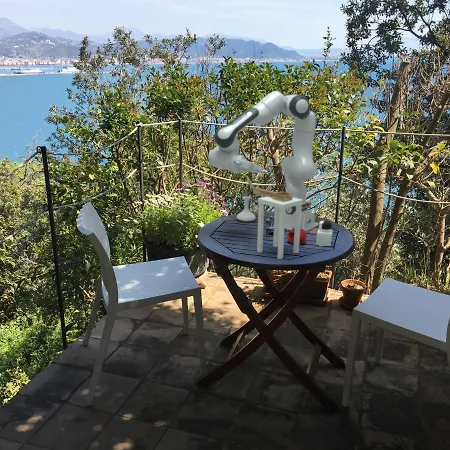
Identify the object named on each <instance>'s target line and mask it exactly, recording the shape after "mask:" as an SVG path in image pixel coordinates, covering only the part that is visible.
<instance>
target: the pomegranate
mask: <svg viewBox="0 0 450 450" xmlns="http://www.w3.org/2000/svg"><path fill="white" fill-rule="evenodd" d="M291 228H293V229H291V230H289V231H288V232H287V234H286V239H287V241H288V243H290V244H292V245H294V233H295V228H294V227H291ZM300 228H302V227H300ZM307 237H308V235H307V231H304V229H300V240H299V245H303V244H305V242H306V241H307Z"/></svg>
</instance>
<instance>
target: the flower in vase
mask: <svg viewBox="0 0 450 450" xmlns="http://www.w3.org/2000/svg"><path fill="white" fill-rule="evenodd" d="M246 181H247V183H248V184H247V186H246V189H245V194H244V195H245V196H242V199H243V201H244V207H243V210H242V211H241V212H239V213H238V214H237V215H236V219H237V220H239V221H242V222H252V221H255V220H256V219H257V216H256V215H255V214H254V213H253V212H251V211H250V209H249V205H250V200H251V199H252V198H251V196H248V195H249V194H250V192H249V191H248V192H247V190H248V187H249V186H250V187H251V188H252V190H253V189H254V188H255V186H254V185H253V182H252V180H251V179H250V178H249V177H246Z"/></svg>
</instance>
